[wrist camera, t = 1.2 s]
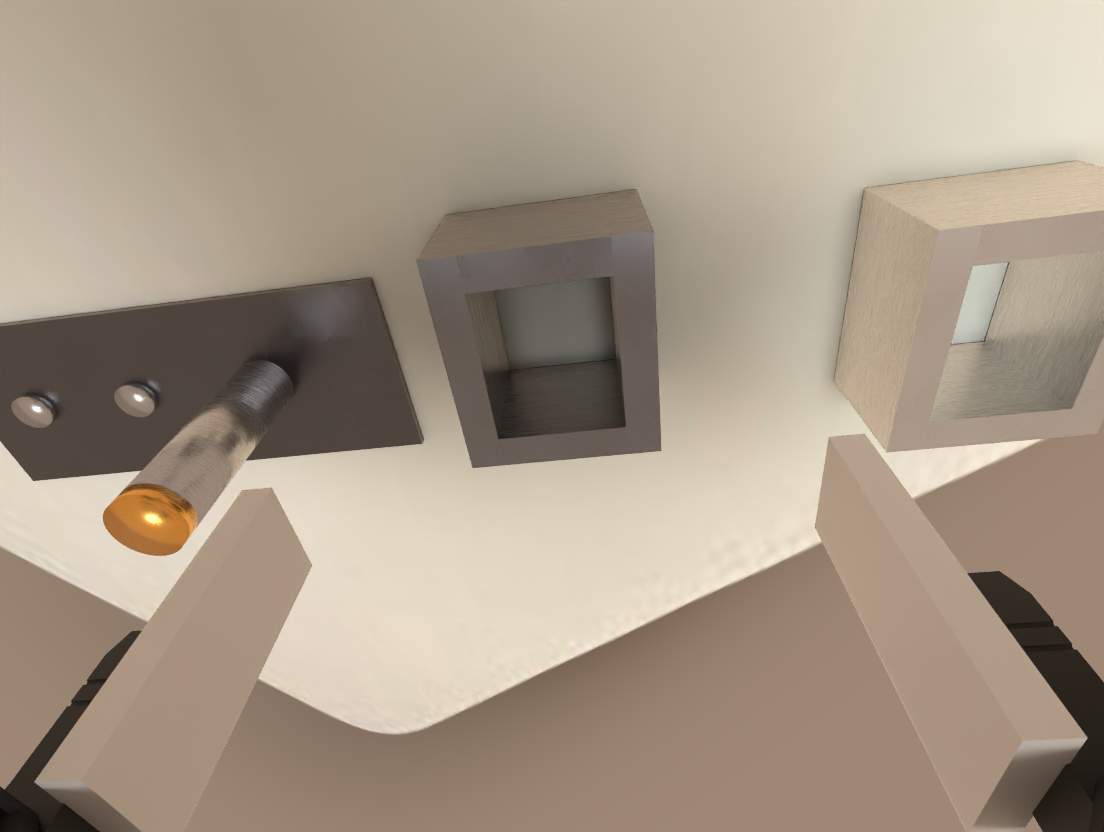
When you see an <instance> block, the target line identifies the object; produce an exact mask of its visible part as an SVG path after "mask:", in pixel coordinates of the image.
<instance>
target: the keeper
mask: <svg viewBox="0 0 1104 832" xmlns="http://www.w3.org/2000/svg"><path fill="white" fill-rule="evenodd" d="M0 441H1V442H2V444H3V445H4V446H5V447H6V448H7V450H8V451H9V452H10V453H11V454H12V456H13V457H14V458H15V459H16V460H17V462H18V463H19V464H20V465H21V466H22V468H23V469H24V470H25V471H26V473H27V474H28V475H29V476H30V477H31V479H32V480H33V481H37V480H48V479H58V478H69V477H79V476H90V475H100V474H111V473H121V472H131V471H141V472H140V473H139V474H138V475H137V476H136V478H135V479H134V480H133V481H132V482H131V483H130V484H129V485H128V486H127V487H126V488H125V489H124V490H123V491H122V492H121V493H120V494H119V495H118V496H117V498H116V499H115V500H114V501H113V502H112V503H111V504H110V505H109V506H108V507H107V508H106V509H105V511H104V514H103V522H104V525H105V527H106V529H107V530H108V532H109V533H110V534H111V535H112V536H113V537H114V538H115V539H116V540H117V541H119V542H120V543H122V544H123V545H125V546H126V547H128V548H130V549H132V550H135V551H137V552H140V553H144V554H148V555H154V556H165V555H170V554H173V553H176V552H177V551H179V550H180V549H181V548H182V546H183V545H184V544H185V542H186V541H187V540H188V538H189V537H190V536H191V534H192V533H193V531H194V530H195V529H196V527H197V526H198V525H199V523H200V522H201V521H202V519H203V518H204V516H205V515H206V514H207V512H208V511H209V510H210V508H211V507H212V506H213V504H214V503H215V502H216V500H217V499H218V497H219V496H220V495H221V493H222V492H223V491H224V489H225V488H226V487H227V485H228V484H229V482H230V481H231V480H232V478H233V477H234V476H235V474H236V473H237V472H238V470H239V469H240V467H241V466H242V465H243V463H244V462H245V461H246V460H257V459H267V458H278V457H288V456H298V455H309V454H319V453H330V452H340V451H351V450H361V449H372V448H382V447H392V446H403V445H413V444H422V443H423V437H422V434H421V431H420V428H419V424H418V421H417V418H416V415H415V412H414V409H413V406H412V403H411V400H410V396H409V393H408V390H407V387H406V384H405V381H404V378H403V375H402V372H401V368H400V365H399V362H398V359H397V356H396V353H395V350H394V347H393V344H392V340H391V337H390V334H389V331H388V328H387V325H386V322H385V319H384V316H383V312H382V309H381V306H380V303H379V300H378V297H377V294H376V291H375V288H374V284H373V281H372V278H365V279H357V280H349V281H341V282H333V283H325V284H317V285H309V286H301V287H293V288H285V289H277V290H269V291H261V292H253V293H245V294H237V295H229V296H221V297H213V298H205V299H197V300H189V301H181V302H173V303H165V304H157V305H149V306H141V307H133V308H125V309H117V310H109V311H101V312H93V313H85V314H77V315H69V316H61V317H53V318H45V319H37V320H29V321H21V322H13V323H5V324H0Z"/></svg>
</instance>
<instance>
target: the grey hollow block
mask: <svg viewBox="0 0 1104 832" xmlns="http://www.w3.org/2000/svg"><path fill="white" fill-rule="evenodd" d="M417 264H418V268H419V272H420V275H421V279H422V283H423V286H424V290H425V294H426V298H427V301H428V305H429V309H430V312H431V316H432V320H433V323H434V327H435V331H436V334H437V338H438V342H439V345H440V349H441V353H442V356H443V360H444V364H445V367H446V371H447V375H448V379H449V382H450V386H451V390H452V393H453V397H454V401H455V404H456V408H457V412H458V415H459V419H460V423H461V426H462V430H463V434H464V437H465V441H466V445H467V448H468V452H469V456H470V460H471V463H472V467H473V468H478V467H489V466H500V465H511V464H522V463H533V462H544V461H555V460H566V459H577V458H588V457H599V456H610V455H621V454H632V453H643V452H654V451H661V431H660V404H659V377H658V350H657V324H656V297H655V270H654V243H653V230H652V227H651V225H650V222H649V220H648V217H647V215H646V212H645V210H644V207H643V205H642V202H641V200H640V197H639V195H638V192H637V190H636V189H634V190H627V191H619V192H612V193H604V194H597V195H589V196H582V197H574V198H567V199H560V200H552V201H545V202H537V203H530V204H522V205H515V206H507V207H500V208H492V209H485V210H477V211H470V212H462V213H455V214H447V215H445V217H444V218H443V220H442V222H441V223H440V225H439V226H438V228H437V230H436V231H435V233H434V234H433V236H432V237H431V239H430V241H429V242H428V244H427V245H426V247H425V248H424V250H423V252H422V253H421V255H420V256H419V258H418V260H417ZM602 277H610V287H611V299H612V311H613V324H614V336H615V348H616V359H613V360H604V361H594V362H585V363H575V364H566V365H557V366H547V367H538V368H529V369H519V370H510V368H509V363H508V359H507V354H506V349H505V344H504V339H503V334H502V329H501V324H500V319H499V314H498V309H497V304H496V299H495V294H494V290H502V289H510V288H519V287H527V286H535V285H544V284H552V283H560V282H569V281H577V280H585V279H594V278H602Z"/></svg>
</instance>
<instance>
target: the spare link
mask: <svg viewBox="0 0 1104 832" xmlns="http://www.w3.org/2000/svg"><path fill="white" fill-rule="evenodd" d="M1002 262H1009V265H1008V268H1007V272H1006V275H1005V278H1004V281H1003V284H1002V287H1001V291H1000V294H999V297H998V300H997V303H996V307H995V310H994V313H993V316H992V319H991V323H990V326H989V329H988V332H987V335H986V339H985V341H984V342H974V343H965V344H955V345H951V341H952V338H953V334H954V330H955V327H956V323H957V320H958V316H959V312H960V309H961V305H962V302H963V298H964V294H965V291H966V287H967V284H968V280H969V276H970V273H971V269H972V266H976V265H985V264H994V263H1002ZM834 382H835V383H836V385H837V386H838V387H839V389H840V390H841V391H842V393H843V394H844V395H845V397H846V398H847V400H848V401H849V402H850V404H851V405H852V406H853V408H854V409H855V410H856V412H857V413H858V414H859V416H860V417H861V419H862V420H863V421H864V423H865V424H866V425H867V427H868V428H869V429H870V431H871V432H872V433H873V435H874V436H875V438H876V439H877V440H878V442H879V443H880V444H881V446H882V447H883V448H884V450H885V451H886V452H896V451H907V450H919V449H930V448H942V447H953V446H965V445H976V444H987V443H999V442H1010V441H1022V440H1033V439H1045V438H1056V437H1067V436H1079V435H1090V434H1097V432H1098V430H1099V428H1100V426H1101V423H1102V421H1103V419H1104V168H1102V167H1098V166H1095V165H1091V164H1087V163H1084V162H1080V161H1071V162H1063V163H1056V164H1048V165H1040V166H1032V167H1025V168H1017V169H1009V170H1001V171H994V172H986V173H978V174H970V175H963V176H955V177H947V178H939V179H932V180H924V181H916V182H908V183H901V184H893V185H885V186H878V187H870V188H864V195H863V201H862V207H861V214H860V220H859V226H858V233H857V239H856V245H855V251H854V258H853V264H852V270H851V277H850V283H849V289H848V296H847V302H846V308H845V314H844V321H843V327H842V333H841V340H840V346H839V352H838V358H837V365H836V371H835V377H834Z"/></svg>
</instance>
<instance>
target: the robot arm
mask: <svg viewBox="0 0 1104 832" xmlns="http://www.w3.org/2000/svg"><path fill="white" fill-rule="evenodd" d="M815 528H816V530H817V532H818V534H819V536H820V538H821V540H822V542H823V544H824V546H825V548H826V550H827V552H828V554H829V556H830V558H831V560H832V562H833V564H834V566H835V568H836V570H837V572H838V574H839V576H840V578H841V581H842V583H843V585H844V587H845V589H846V590H847V592H848V595H849V597H850V599H851V600H852V603H853V605H854V607H855V609H856V611H857V613H858V615H859V617H860V619H861V621H862V623H863V625H864V627H865V629H866V631H867V633H868V635H869V637H870V639H871V641H872V643H873V645H874V647H875V649H876V651H877V653H878V655H879V657H880V659H881V661H882V663H883V665H884V667H885V669H886V671H887V673H888V675H889V677H890V679H891V682H892V684H893V686H894V688H895V690H896V692H897V693H898V696H899V698H900V700H901V702H902V704H903V706H904V708H905V710H906V712H907V713H908V716H909V718H910V720H911V722H912V724H913V726H914V728H915V730H916V732H917V734H918V736H919V738H920V740H921V742H922V744H923V746H924V748H925V750H926V752H927V754H928V756H929V758H930V760H931V762H932V764H933V766H934V768H935V770H936V772H937V774H938V776H939V779H940V780H941V783H942V785H943V786H944V788H945V791H946V793H947V795H948V797H949V799H950V801H951V803H952V805H953V807H954V809H955V811H956V813H957V815H958V817H959V818H960V821H961V823H962V825H963V827H964V829H965V831H966V832H1022V831H1023V830H1024V828H1025V827H1026V825H1027V824H1028V823H1029V821H1030V819H1031V818H1032V817H1033V816H1034V817H1035V819H1036V821H1037V822H1038V824H1039V826H1040V827H1041V829H1042V831H1043V832H1104V682H1103V681H1102V680H1101V679H1100V677H1099V676H1098V675H1097V674H1096V672H1095V671H1094V670H1093V669H1092V668H1091V666H1090V665H1089V664H1088V663H1087V661H1086V660H1085V659H1084V658H1083V657H1082V655H1081V654H1080V653H1079V652H1078V651H1077V650H1074V649H1073V648H1072V643H1071V642H1070V641H1069V639H1068V638H1067V637H1066V636H1065V635H1064V633H1063V632H1062V631H1061V630H1060V629H1059V627H1057V626H1056V627H1055V626H1054V624H1053V620H1052V619H1051V618H1050V616H1049V615H1048V614H1047V613H1046V611H1045V610H1044V609H1043V608H1042V607H1041V605H1040V604H1039V603H1038V602H1037V601H1036V599H1035V598H1034V597H1033V596H1032V594H1031V593H1029V592H1028V591H1026V590H1025V589H1024V588H1022V587H1021V586H1019V585H1018V584H1017V583H1015V582H1014V581H1013V580H1011V579H1010V578H1008V577H1007V576H1005V575H1004V574H1003V573H1001V572H1000V571H995V572H979V573H966V571H965V570H964V569H963V567H962V566H961V564H960V563H959V562H958V560H957V559H956V558H955V556H954V555H953V554H952V552H951V551H950V549H949V548H948V547H947V545H946V544H945V543H944V541H943V540H942V539H941V537H940V536H939V535H938V533H937V532H936V530H935V529H934V528H933V526H932V525H931V524H930V522H929V521H928V519H927V518H926V517H925V515H924V514H923V513H922V511H921V510H920V509H919V507H918V506H917V504H916V503H915V502H914V500H913V499H912V498H911V496H910V495H909V494H908V492H907V491H906V489H905V488H904V487H903V485H902V484H901V483H900V481H899V480H898V479H897V477H896V476H895V474H894V473H893V472H892V470H891V469H890V468H889V466H888V465H887V464H886V462H885V461H884V459H883V458H882V457H881V455H880V454H879V453H878V451H877V450H876V448H875V447H874V446H873V444H872V443H871V442H870V440H869V439H868V438H867V436H866V435H865V434H858V435H847V436H836V437H829V440H828V446H827V453H826V459H825V466H824V472H823V478H822V485H821V491H820V498H819V504H818V510H817V517H816V523H815ZM311 567H312V564H311V562H310V560H309V558H308V556H307V555H306V553H305V551H304V549H303V547H302V545H301V543H300V541H299V539H298V537H297V535H296V533H295V531H294V530H293V528H292V526H291V524H290V522H289V520H288V518H287V516H286V514H285V512H284V510H283V508H282V507H281V505H280V503H279V501H278V499H277V497H276V495H275V493H274V491H273V489H272V488H263V489H252V490H242V491H241V493H240V494H239V496H238V497H237V498H236V500H235V501H234V503H233V504H232V505H231V507H230V508H229V510H228V511H227V512H226V514H225V515H224V517H223V518H222V519H221V521H220V522H219V524H218V525H217V526H216V528H215V529H214V531H213V532H212V533H211V535H210V536H209V538H208V539H207V540H206V542H205V543H204V545H203V546H202V547H201V549H200V550H199V552H198V553H197V554H196V556H195V557H194V559H193V560H192V561H191V563H190V564H189V566H188V567H187V568H186V570H185V571H184V573H183V574H182V575H181V577H180V578H179V580H178V581H177V582H176V584H175V585H174V587H173V588H172V589H171V591H170V592H169V594H168V595H167V596H166V598H165V599H164V601H163V602H162V603H161V605H160V606H159V608H158V609H157V610H156V612H155V613H154V615H153V616H152V617H151V619H150V620H149V622H148V623H147V624H146V626H145V627H144V629H143V630H142V631H132V632H131V633H129V634H128V635H127V636H126V637H125V638H124V639H123V640H122V641H121V642H119V643H118V644H117V645H116V646H115V647H114V648H113V649H111V650H110V651H109V652H108V653H107V654H106V655H105V656H104V658H103V659H102V660H101V662H100V663H99V664H98V666H97V667H96V668H95V670H94V671H93V673H92V674H91V675H90V676H89V678H88V679H87V684H86V685H83V686H82V687H81V689H80V690H79V691H78V693H77V694H76V695H75V697H74V698H73V699H72V701H71V702H72V704H71V706H68V707H66V709H65V710H64V711H63V713H62V714H61V715H60V717H59V718H58V719H57V721H56V722H55V724H54V725H53V726H52V728H51V729H50V730H49V732H48V733H47V734H46V736H45V737H44V738H43V740H42V741H41V742H40V744H39V745H38V746H37V748H36V749H35V750H34V752H33V753H32V754H31V756H30V757H29V758H28V760H27V761H26V763H25V764H24V765H23V767H22V768H21V769H20V771H19V772H18V773H17V775H16V776H15V777H14V779H13V780H12V781H11V783H10V784H9V785H8V786H7V788H6V789H5V790H4V789H3V788H1V787H0V832H184V830H185V828H186V826H187V824H188V822H189V820H190V818H191V816H192V814H193V812H194V810H195V808H196V805H197V803H198V801H199V799H200V797H201V795H202V793H203V791H204V789H205V787H206V785H207V783H208V781H209V778H210V776H211V774H212V772H213V770H214V768H215V766H216V764H217V762H218V759H219V758H220V755H221V754H222V751H223V749H224V747H225V745H226V743H227V741H228V739H229V737H230V735H231V733H232V731H233V728H234V727H235V725H236V722H237V720H238V718H239V716H240V714H241V712H242V710H243V708H244V706H245V704H246V701H247V700H248V697H249V695H250V693H251V691H252V689H253V687H254V685H255V683H256V681H257V679H258V677H259V675H260V673H261V671H262V669H263V666H264V664H265V662H266V660H267V658H268V656H269V654H270V652H271V650H272V648H273V646H274V644H275V642H276V639H277V637H278V635H279V633H280V631H281V629H282V627H283V625H284V623H285V621H286V619H287V617H288V615H289V612H290V610H291V608H292V606H293V604H294V602H295V600H296V598H297V596H298V594H299V592H300V590H301V588H302V586H303V583H304V581H305V579H306V577H307V575H308V573H309V571H310V569H311Z"/></svg>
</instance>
